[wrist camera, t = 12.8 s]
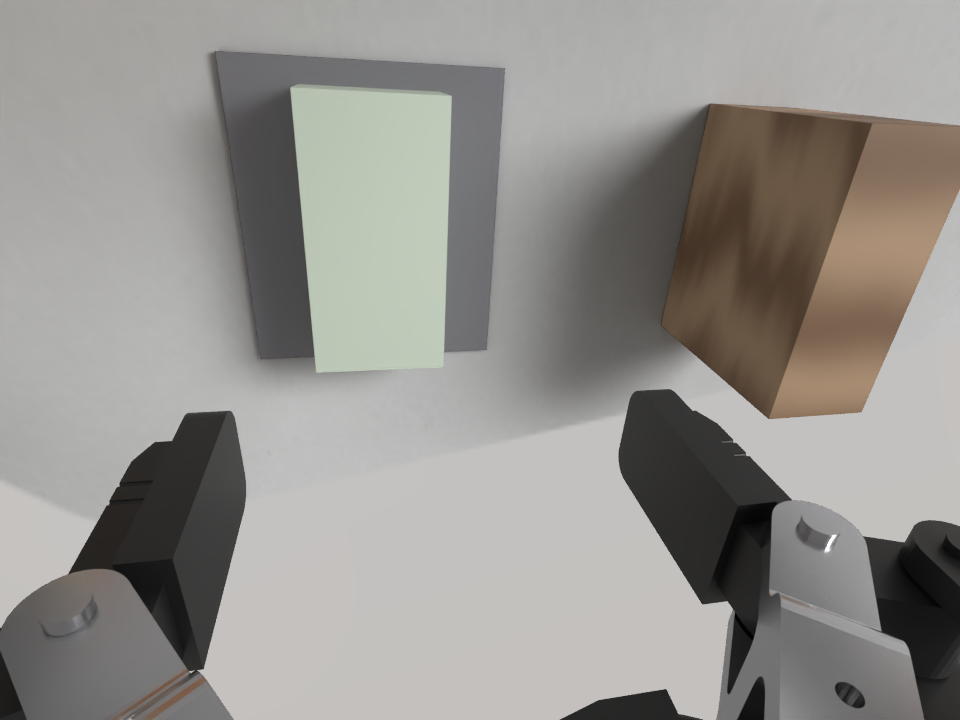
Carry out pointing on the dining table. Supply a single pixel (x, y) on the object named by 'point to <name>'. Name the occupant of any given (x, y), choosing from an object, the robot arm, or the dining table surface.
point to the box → (807, 249)
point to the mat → (276, 196)
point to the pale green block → (374, 223)
